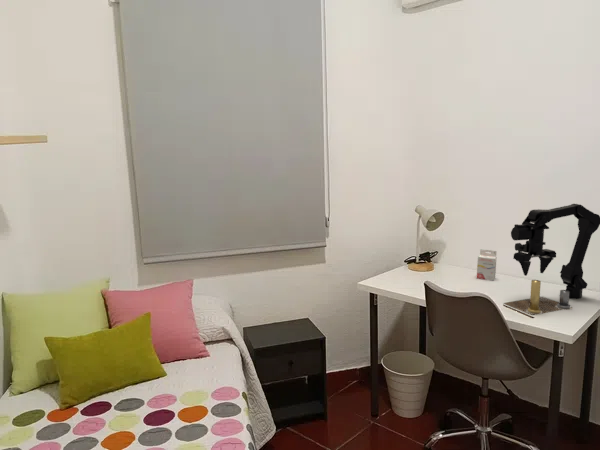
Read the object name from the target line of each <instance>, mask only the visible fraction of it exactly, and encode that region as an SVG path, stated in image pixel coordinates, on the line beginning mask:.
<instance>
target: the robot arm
mask: <svg viewBox="0 0 600 450" xmlns="http://www.w3.org/2000/svg"><path fill="white" fill-rule="evenodd" d="M572 215H573V216H574V217H575V218H576V219H577V228H578V234H577V237H576V240H575V244H574V245H573V246H574V247H573V249H572V253H571V255H570V259H569V262H568V263H567V264H562V266H561V269H560V272H559V274H560V279H561V280H562V283H563V284H564V285H566V287H565V290H567V291H569V300H572V299H573V300H580V299H581V298H582V297H583V290H584V289H587V287H588V283H587V282H586V281H585V280H584V278H583V276H584V271H583V270H584V269H583V263H584V260H585V257H586V253H587V250H588V248H589V245H590V241H591V238H592V235H593V234H594V233H595V232H596V231H597V230H598V229H599V227H600V215H599V214H597V213H594V212H593V211H591V210H590V209H587V208H586V207H585V206H583V205H582V204H578V203H571V204H569V205H564V206H560V207H559V206H558V207H555V208H549V209H539V208H538V209H531V210H529V212H528V214H527V215H526V217H525V219H524V220H523V222H521V224H514V226H513V227H512V229H511V230H510V237H511V239H512V240H513V241H525V243H524V244H522V243H521V242H517V243H515V245H514V250H515V251H517V252H515V253H513V260H515V261H516V262H518V263H519V264H520V267H521V269H522V272H523V275H524V276H528V273H529V270H530V266H531V263H532V261H531V259H532V258H538V259H539V260H540V261H539V271H540V272H539V273H540V274H544V272H545V271H546V269H547V268H548V266H549V264H550V263H552V261H553V260H555V259H554V258H557V252H556V250H552V249H549V248H544V245H545V246H546V242H545V241H544V237H545V230H549V229H550V227H549V226H548V225H547V224H549V223H550V222H551V221H553V220H555V219H560V218H565V217H569V216H572Z"/></svg>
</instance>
